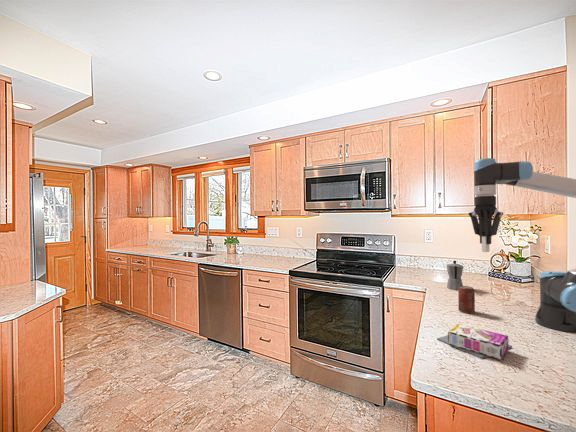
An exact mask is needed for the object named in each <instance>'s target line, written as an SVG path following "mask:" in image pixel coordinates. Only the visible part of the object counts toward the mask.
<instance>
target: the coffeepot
mask: <svg viewBox="0 0 576 432" xmlns="http://www.w3.org/2000/svg"><path fill="white" fill-rule="evenodd" d="M463 269H464V265H462V264H458V263H457V261H456V260H453V263H449V264H448V263H447V264H446V270H447V274H448V279H447V285H446V288H447V289H448V290H452V291H458V288H459V287H460V286H464V285H463V280H462V276H463Z"/></svg>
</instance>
